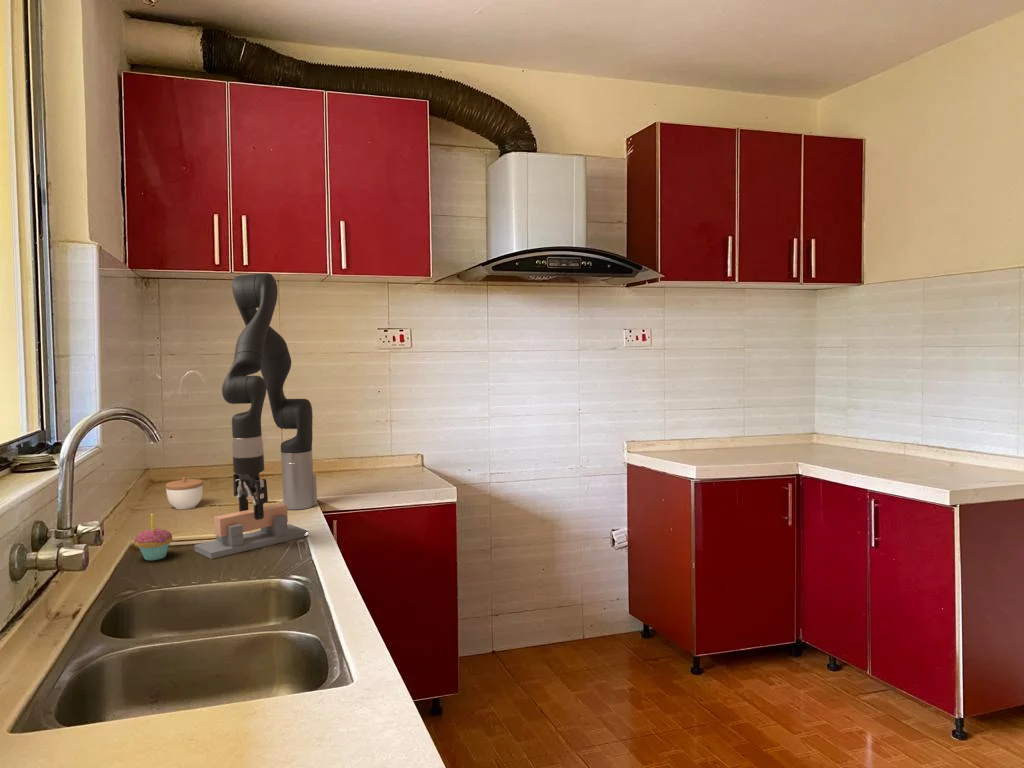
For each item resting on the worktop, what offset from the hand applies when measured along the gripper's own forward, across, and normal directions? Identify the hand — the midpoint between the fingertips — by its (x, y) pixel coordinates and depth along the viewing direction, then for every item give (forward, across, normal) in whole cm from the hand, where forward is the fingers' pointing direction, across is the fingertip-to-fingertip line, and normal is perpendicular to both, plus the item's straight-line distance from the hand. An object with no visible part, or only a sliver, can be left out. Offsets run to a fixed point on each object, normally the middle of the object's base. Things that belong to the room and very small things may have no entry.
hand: (251, 516), depth 200 cm
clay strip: (+3, 0, 0) cm, 3 cm away
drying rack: (+7, 0, 0) cm, 7 cm away
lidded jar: (+7, +54, -4) cm, 55 cm away
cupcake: (+7, +7, +22) cm, 24 cm away
